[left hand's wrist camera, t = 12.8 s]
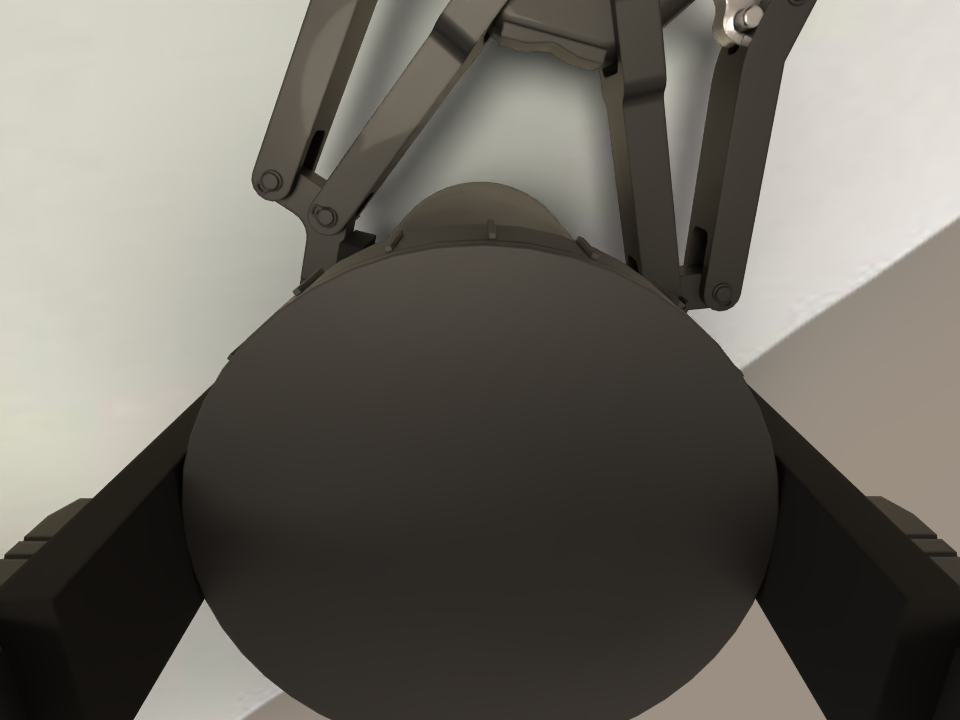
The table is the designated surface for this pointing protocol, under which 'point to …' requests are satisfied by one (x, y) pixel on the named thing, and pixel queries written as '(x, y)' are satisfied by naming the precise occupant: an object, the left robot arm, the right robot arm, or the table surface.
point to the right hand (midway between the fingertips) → (450, 437)
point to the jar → (480, 209)
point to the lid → (480, 485)
